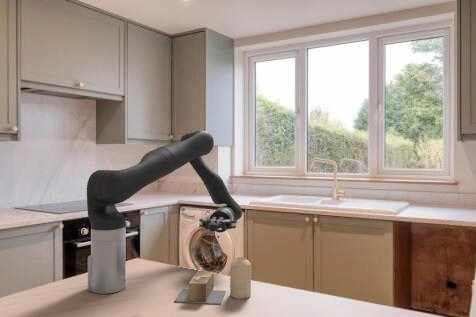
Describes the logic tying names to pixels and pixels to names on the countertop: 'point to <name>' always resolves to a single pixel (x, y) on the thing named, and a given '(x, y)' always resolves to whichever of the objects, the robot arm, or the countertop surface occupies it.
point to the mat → (213, 298)
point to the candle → (240, 278)
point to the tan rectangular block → (201, 286)
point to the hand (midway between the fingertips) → (212, 227)
